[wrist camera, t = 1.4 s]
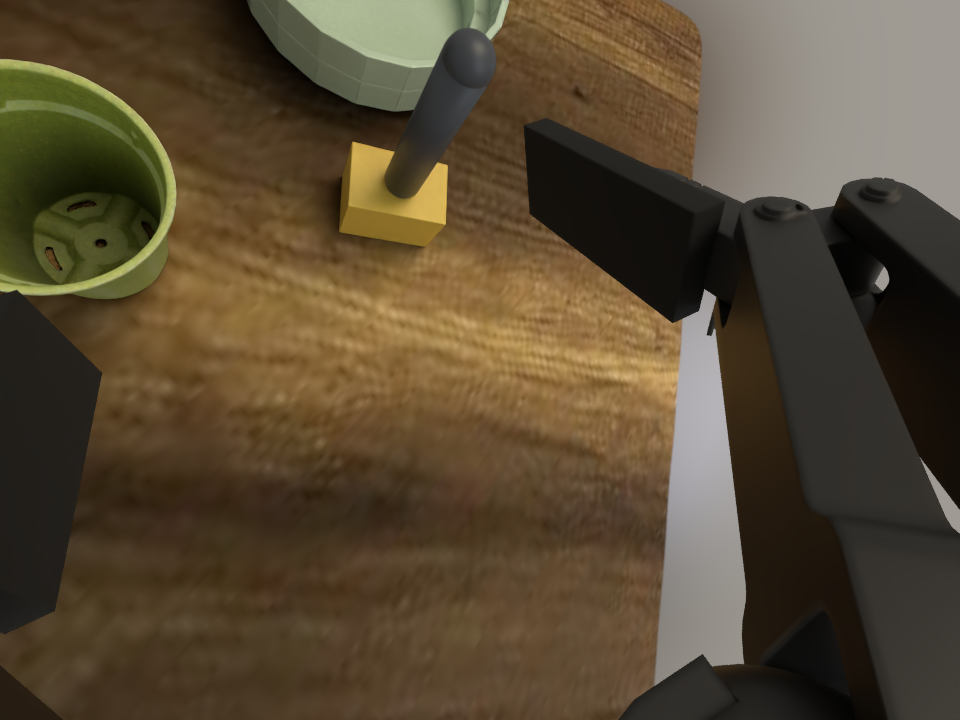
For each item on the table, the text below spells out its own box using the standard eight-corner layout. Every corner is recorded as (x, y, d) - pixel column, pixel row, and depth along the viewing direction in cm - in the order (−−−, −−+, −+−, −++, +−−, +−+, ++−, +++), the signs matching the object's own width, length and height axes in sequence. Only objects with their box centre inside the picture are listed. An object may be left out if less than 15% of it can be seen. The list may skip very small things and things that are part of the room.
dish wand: (338, 232, 31) (397, 65, 16) (342, 175, 32) (403, -39, 17) (425, 247, 34) (548, 114, 19) (427, 194, 34) (549, 21, 19)
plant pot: (153, 144, 28) (104, 38, 20) (233, 289, 29) (216, 244, 21) (-45, 193, 24) (-204, 86, 16) (54, 357, 25) (-50, 334, 17)
